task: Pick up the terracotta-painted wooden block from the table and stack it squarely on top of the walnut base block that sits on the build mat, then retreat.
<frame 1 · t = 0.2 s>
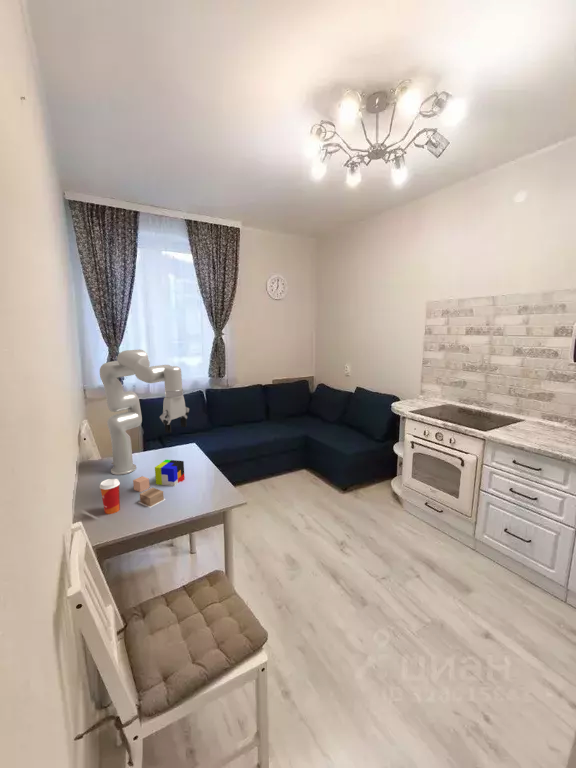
hand: (176, 429, 163), 31 cm above the table, tool pointing down, fingers open, 9 cm apart
paper cup: (112, 513, 149), on the table
puzzle toy: (170, 483, 176), on the table
top block: (142, 490, 168), on the table
build mat: (151, 500, 158), on the table
base block: (152, 500, 156), point 1 cm above the table, touching build mat
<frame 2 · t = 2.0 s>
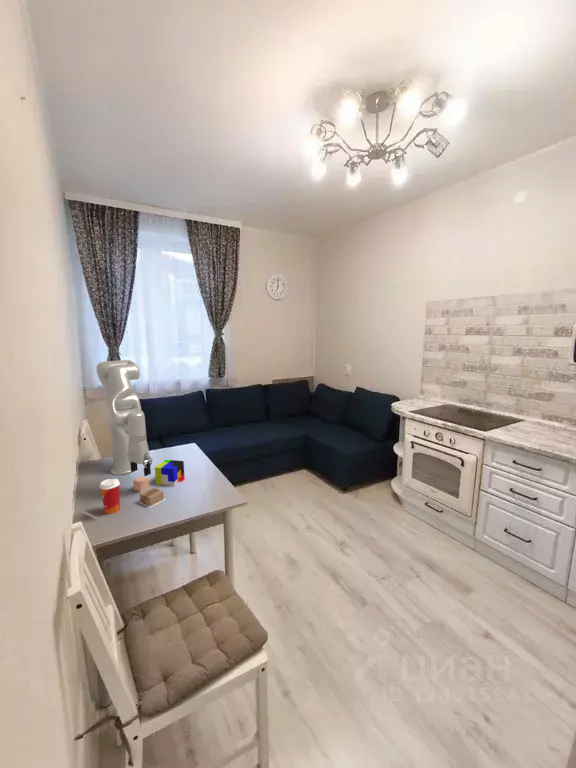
hand: (140, 472, 166), 9 cm above the table, tool pointing down, fingers open, 9 cm apart
nothing on the table moved.
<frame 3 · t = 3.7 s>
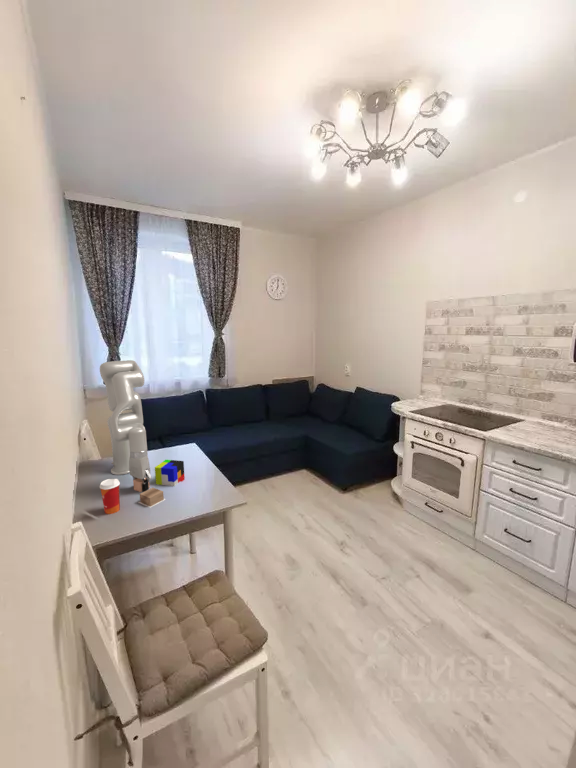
hand: (141, 488, 168), 1 cm above the table, tool pointing down, fingers closed on top block, 5 cm apart
top block: (141, 490, 168), on the table, touching gripper
everything else where it was.
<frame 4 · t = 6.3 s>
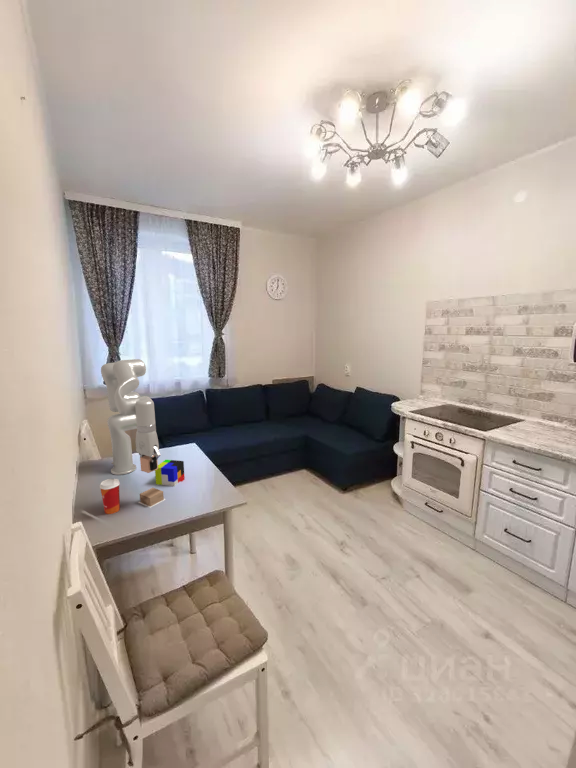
hand: (149, 467, 153), 17 cm above the table, tool pointing down, fingers closed on top block, 5 cm apart
top block: (149, 469, 154), point 16 cm above the table, touching gripper
everything else where it was.
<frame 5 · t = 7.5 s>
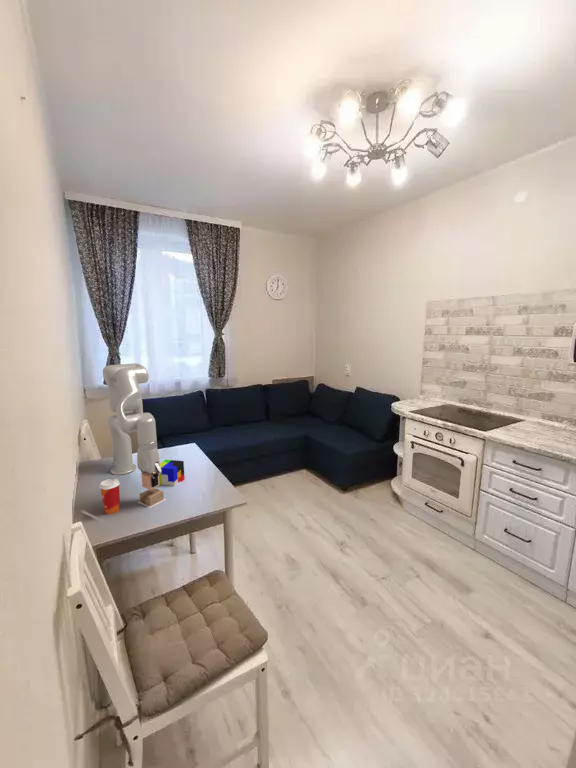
hand: (150, 483, 155), 9 cm above the table, tool pointing down, fingers closed on top block, 5 cm apart
top block: (151, 485, 155), point 8 cm above the table, touching gripper
everything else where it was.
when the fingers open (7 cm above the table, at t = 8.7 s): top block drops 1 cm, resting on base block.
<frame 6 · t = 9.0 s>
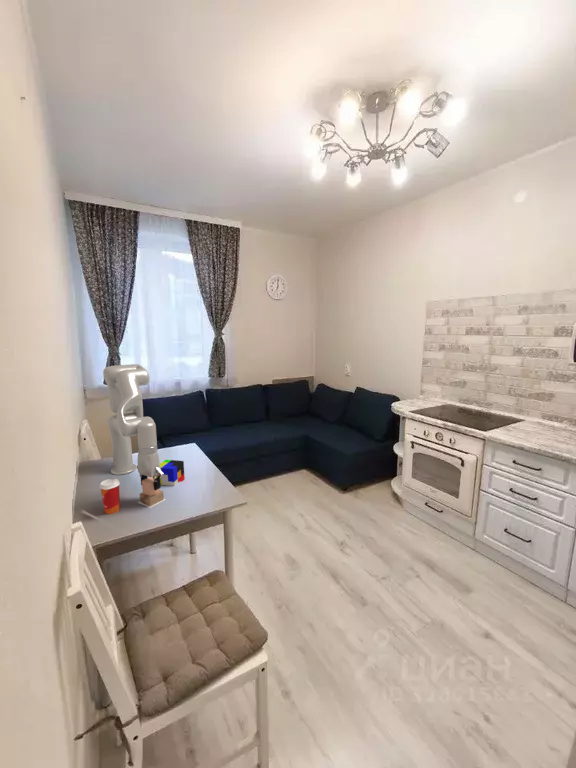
hand: (150, 486, 155), 8 cm above the table, tool pointing down, fingers open, 8 cm apart
top block: (151, 492, 156), point 5 cm above the table, touching base block
base block: (152, 500, 156), point 1 cm above the table, touching build mat, top block
everything else where it was.
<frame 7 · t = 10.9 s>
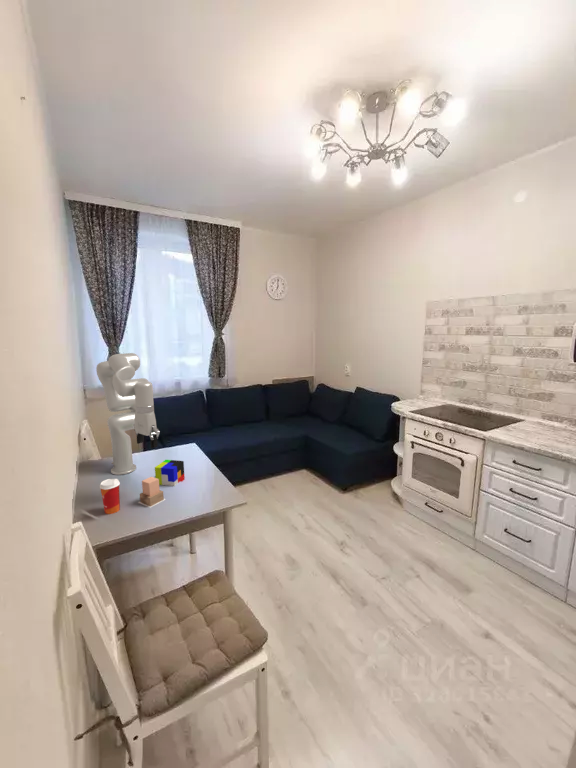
hand: (147, 445, 160), 24 cm above the table, tool pointing down, fingers open, 9 cm apart
nothing on the table moved.
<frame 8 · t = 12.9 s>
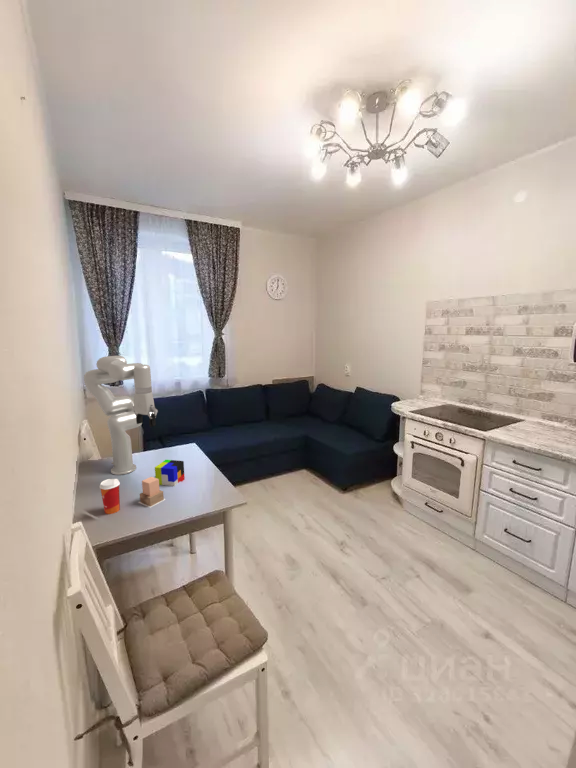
hand: (146, 424, 171), 30 cm above the table, tool pointing down, fingers open, 9 cm apart
nothing on the table moved.
at the end: top block 0.1 cm off-centre on the base block, point 4.0 cm above the base block's base; top block tilted 0°; top block touching base block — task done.
